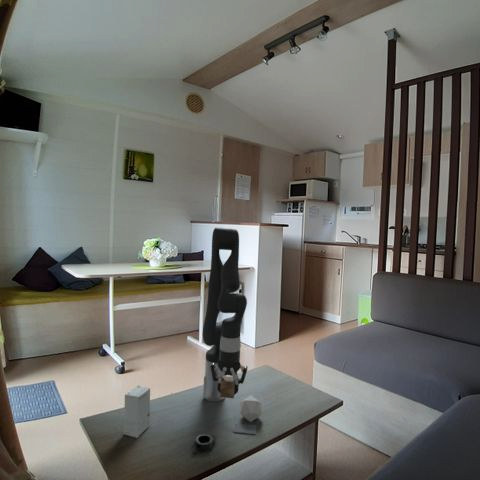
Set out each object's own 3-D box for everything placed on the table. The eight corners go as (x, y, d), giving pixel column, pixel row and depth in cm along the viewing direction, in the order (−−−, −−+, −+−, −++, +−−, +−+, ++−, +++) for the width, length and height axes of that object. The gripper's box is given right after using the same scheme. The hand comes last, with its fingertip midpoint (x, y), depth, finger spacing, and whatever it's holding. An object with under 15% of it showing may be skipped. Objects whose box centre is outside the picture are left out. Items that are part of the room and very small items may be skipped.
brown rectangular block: (220, 397, 127) (220, 381, 127) (221, 391, 131) (222, 376, 130) (233, 398, 126) (234, 382, 126) (235, 392, 130) (235, 377, 130)
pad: (233, 432, 129) (233, 431, 129) (235, 424, 134) (235, 423, 134) (255, 434, 129) (255, 433, 129) (256, 426, 134) (256, 425, 134)
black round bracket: (220, 452, 118) (221, 444, 118) (191, 457, 116) (191, 448, 115) (215, 438, 126) (215, 430, 126) (187, 442, 123) (188, 434, 123)
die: (265, 423, 137) (265, 396, 143) (253, 420, 131) (253, 392, 137) (247, 424, 142) (248, 397, 147) (235, 421, 136) (236, 393, 141)
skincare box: (137, 438, 123) (138, 397, 123) (122, 434, 125) (123, 394, 124) (150, 425, 131) (151, 387, 131) (136, 422, 133) (137, 384, 132)
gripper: (208, 349, 125) (206, 395, 126) (248, 353, 123) (246, 399, 124) (212, 342, 132) (210, 385, 133) (250, 345, 131) (248, 389, 132)
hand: (227, 392), depth 129 cm, fingers closed on brown rectangular block, 5 cm apart
